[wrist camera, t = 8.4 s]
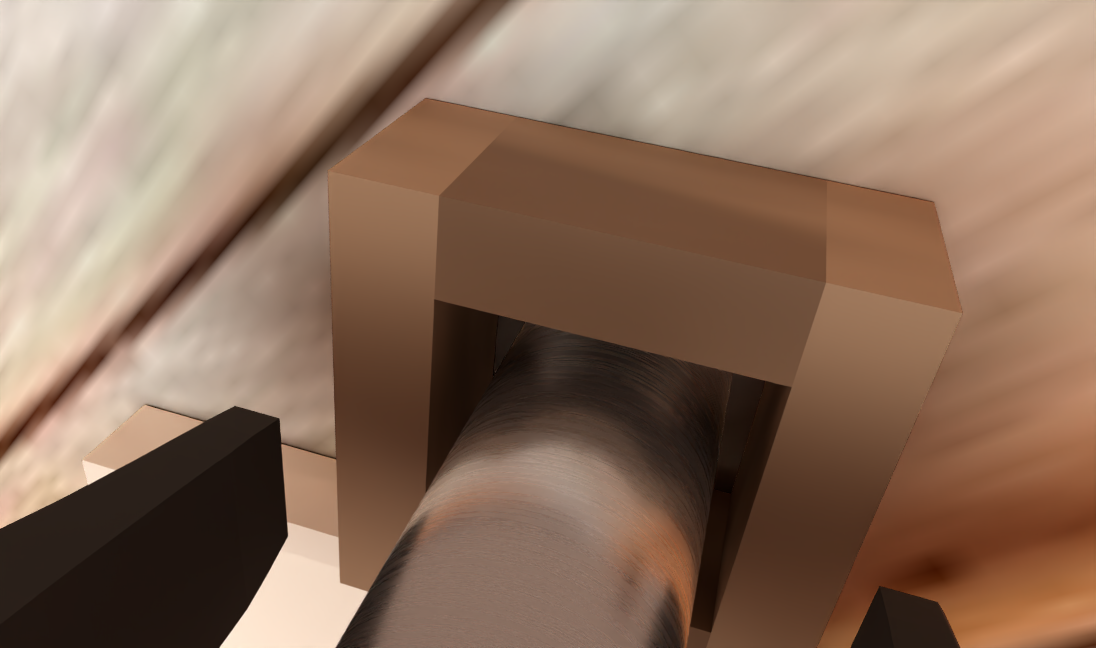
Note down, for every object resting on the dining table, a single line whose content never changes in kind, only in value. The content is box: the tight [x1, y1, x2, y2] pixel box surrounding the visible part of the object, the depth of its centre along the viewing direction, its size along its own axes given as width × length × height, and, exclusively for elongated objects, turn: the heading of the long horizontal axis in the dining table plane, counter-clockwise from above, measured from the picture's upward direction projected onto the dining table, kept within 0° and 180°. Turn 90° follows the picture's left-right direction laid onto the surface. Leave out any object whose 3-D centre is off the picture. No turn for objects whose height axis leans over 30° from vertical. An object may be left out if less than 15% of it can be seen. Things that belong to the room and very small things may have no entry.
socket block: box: [328, 98, 963, 648], centre depth 13 cm, size 7×7×3 cm
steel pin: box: [336, 322, 733, 648], centre depth 10 cm, size 4×4×9 cm
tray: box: [82, 405, 368, 648], centre depth 19 cm, size 9×9×2 cm
